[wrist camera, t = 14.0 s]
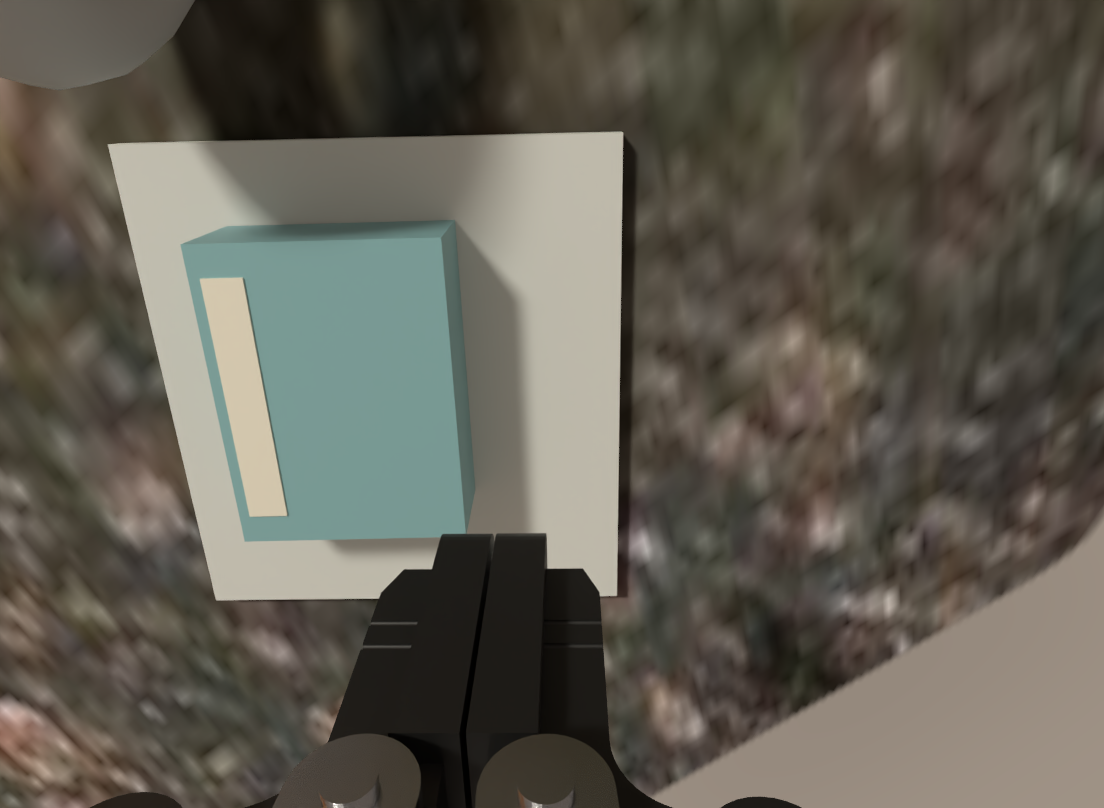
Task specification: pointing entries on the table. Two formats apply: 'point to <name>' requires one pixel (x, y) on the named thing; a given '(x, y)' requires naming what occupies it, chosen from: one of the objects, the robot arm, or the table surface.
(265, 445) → the box
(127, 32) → the donut
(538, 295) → the mat
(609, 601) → the table surface
